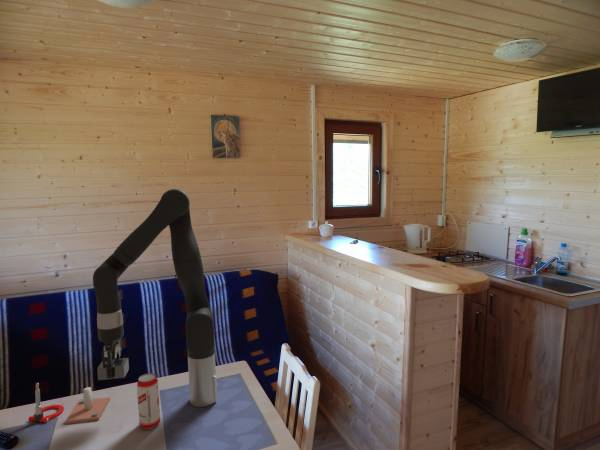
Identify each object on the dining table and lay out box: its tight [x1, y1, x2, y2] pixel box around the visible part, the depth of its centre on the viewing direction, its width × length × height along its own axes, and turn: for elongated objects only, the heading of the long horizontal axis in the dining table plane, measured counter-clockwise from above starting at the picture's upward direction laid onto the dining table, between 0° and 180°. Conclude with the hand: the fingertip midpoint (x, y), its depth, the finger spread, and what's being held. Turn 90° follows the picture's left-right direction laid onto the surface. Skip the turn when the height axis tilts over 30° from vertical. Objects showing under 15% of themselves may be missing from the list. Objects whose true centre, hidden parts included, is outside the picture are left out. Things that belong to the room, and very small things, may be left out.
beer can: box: [136, 373, 161, 430], centre depth 123 cm, size 6×6×16 cm
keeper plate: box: [65, 386, 111, 425], centre depth 131 cm, size 10×12×8 cm
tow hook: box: [28, 382, 65, 423], centre depth 130 cm, size 8×13×9 cm
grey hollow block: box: [96, 357, 130, 381], centre depth 128 cm, size 8×6×4 cm
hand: (113, 372), depth 128 cm, fingers closed on grey hollow block, 6 cm apart
